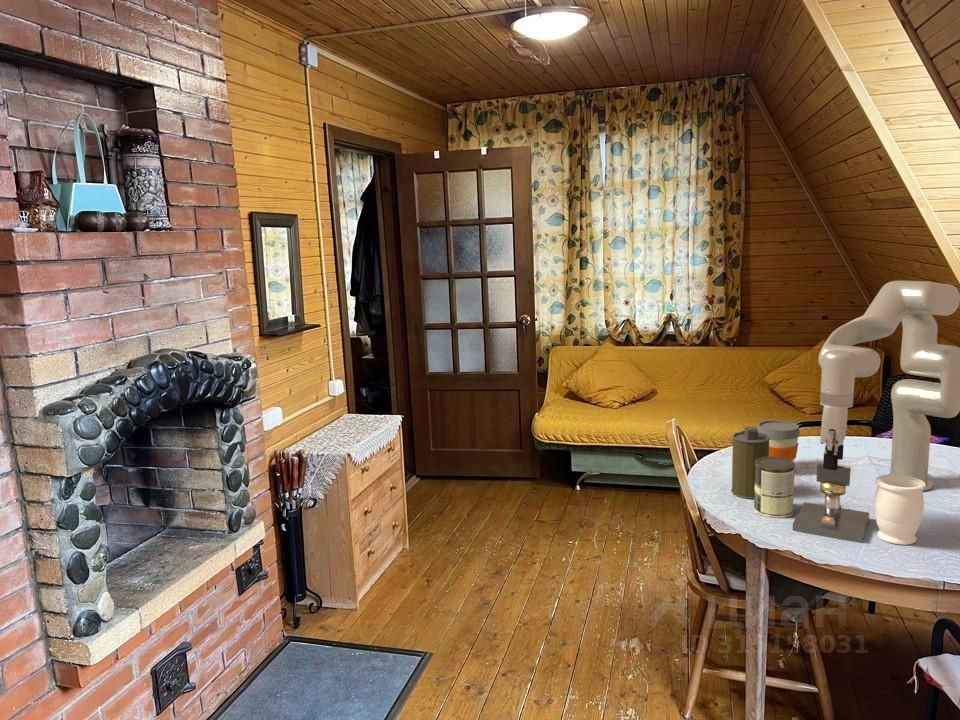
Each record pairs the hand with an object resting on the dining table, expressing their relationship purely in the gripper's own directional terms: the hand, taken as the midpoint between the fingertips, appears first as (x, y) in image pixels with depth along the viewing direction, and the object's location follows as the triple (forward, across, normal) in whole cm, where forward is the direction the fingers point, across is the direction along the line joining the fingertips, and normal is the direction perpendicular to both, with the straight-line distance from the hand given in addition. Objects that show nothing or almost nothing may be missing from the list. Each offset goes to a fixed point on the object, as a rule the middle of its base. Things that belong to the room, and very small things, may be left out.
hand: (833, 463), depth 186 cm
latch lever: (+8, -1, 0) cm, 8 cm away
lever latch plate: (+17, -1, 0) cm, 17 cm away
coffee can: (+17, -4, -15) cm, 23 cm away
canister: (+17, -15, -24) cm, 33 cm away
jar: (+17, 0, +15) cm, 23 cm away
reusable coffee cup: (+17, -38, -21) cm, 46 cm away
